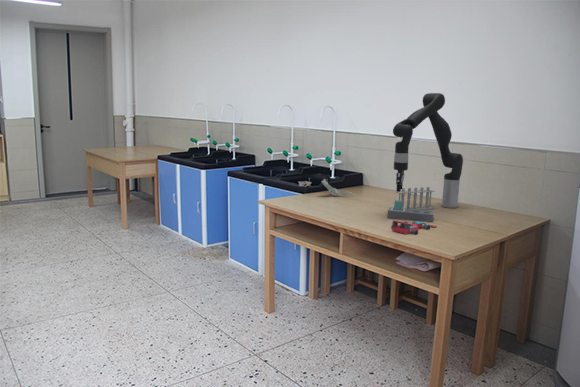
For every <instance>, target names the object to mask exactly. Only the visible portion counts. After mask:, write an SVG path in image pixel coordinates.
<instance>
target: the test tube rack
mask: <svg viewBox="0 0 580 387" xmlns="http://www.w3.org/2000/svg"><path fill="white" fill-rule="evenodd" d="M419 189H420V190H418V187H414V190H412V188H411V187H408V188H407V190H406V189H405V188H404V187H402V189H401V191H400V192H397V191H395V193H398V200H401V201H403V205H402V208H405V209H416V210H434V207H433V206H431V205H432V204H431V203H432V193H435V192H436V191H435V190H433V189H431V188H430V187H429V186H426V189H424V187H422V186H421V187H420V188H419ZM418 193H419V203H418V204H419V205H418V206H417V201H418V200H417V198H418ZM424 193H425V204H424V206H423V202H424V201H423V199H424ZM405 194H407V200H406V207H404V205H405ZM412 194H413V201H412V202H413V203H412V204H413V205H412V207H411V199H412V198H411V196H412Z"/></svg>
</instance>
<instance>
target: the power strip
mask: <svg viewBox="0 0 580 387" xmlns="http://www.w3.org/2000/svg"><path fill="white" fill-rule="evenodd" d="M405 208H406V207H404V208H402V211H400V210H394V206H393V207H392V206H390V207H389V208H388V209H387V213H386V215H387V219H393V220H396V219H397V220H405V221H415V222H426V223H433V222H434V221H433V220H434V215H435V213H434V212H435V211H434V210H428V209H424V210H416V209H405Z"/></svg>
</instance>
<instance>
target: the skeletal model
mask: <svg viewBox="0 0 580 387" xmlns="http://www.w3.org/2000/svg"><path fill="white" fill-rule="evenodd" d="M321 184H322V185H323V186H324V187H325V188H326V189H327V190H328V193H330V194H331V195H332V196H335V197H340V196H343V197H344V196H348V195H350V194H351V195H353V196H354V197H356V196H357V195H356V194H354V193H353V192H350V190H349V191H348V190H343V189H337V188H336V187H333V186H332V185H330V184H329V183H328V181H327V180H326V178H323V180H322V181H321ZM340 193H341V194H340Z"/></svg>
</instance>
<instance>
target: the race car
mask: <svg viewBox="0 0 580 387" xmlns="http://www.w3.org/2000/svg"><path fill="white" fill-rule="evenodd" d="M390 228H391V229H392V231H394V232H396V233H400V234H404V235H408V234H411V235H413V234H414V236H416V235H418V234H419V230H420V229H424V230H426V231H427V230H430V229H431V228H437V225H433V224H430V223H425V222H424V221H415V220H412V223H409V222H408V220H405V221H399V220H396V219H392V224H391V227H390Z"/></svg>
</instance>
